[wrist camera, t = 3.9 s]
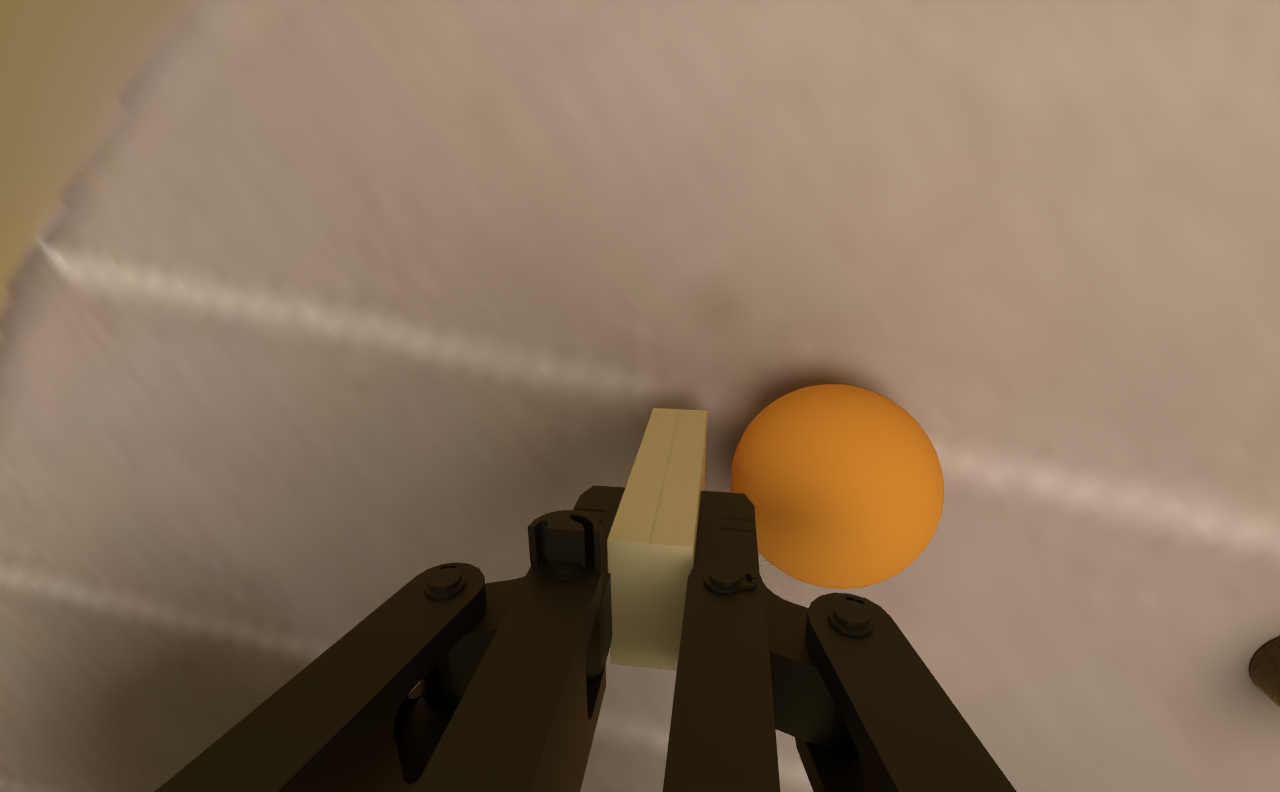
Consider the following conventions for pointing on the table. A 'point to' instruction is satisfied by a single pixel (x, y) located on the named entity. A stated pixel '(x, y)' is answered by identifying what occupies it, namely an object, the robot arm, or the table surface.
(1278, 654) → the post
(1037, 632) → the table surface
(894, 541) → the ball
